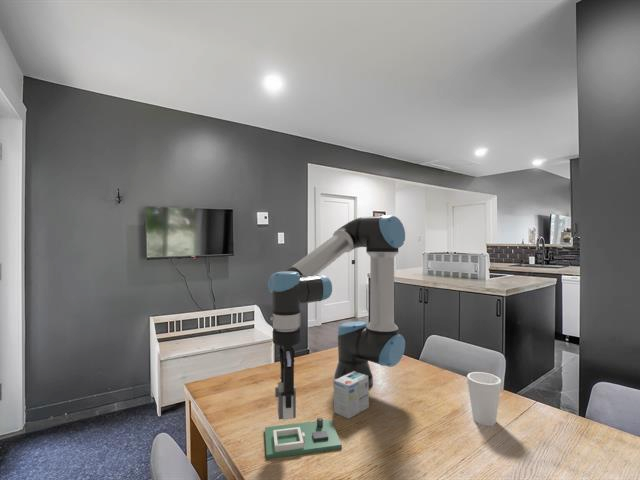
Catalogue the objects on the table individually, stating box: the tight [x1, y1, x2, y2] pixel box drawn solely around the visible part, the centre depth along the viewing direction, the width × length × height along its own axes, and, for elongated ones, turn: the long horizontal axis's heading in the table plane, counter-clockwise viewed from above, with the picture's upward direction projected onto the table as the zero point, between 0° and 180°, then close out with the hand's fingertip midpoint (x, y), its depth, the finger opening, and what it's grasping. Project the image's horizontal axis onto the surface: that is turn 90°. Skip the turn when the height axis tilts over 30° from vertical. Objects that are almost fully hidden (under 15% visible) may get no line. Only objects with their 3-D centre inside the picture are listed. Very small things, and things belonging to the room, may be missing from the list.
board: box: [264, 417, 342, 460], centre depth 95 cm, size 20×13×3 cm, turn 101°
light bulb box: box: [333, 371, 370, 420], centre depth 111 cm, size 11×7×11 cm, turn 134°
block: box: [274, 381, 297, 420], centre depth 92 cm, size 5×4×8 cm
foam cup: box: [466, 371, 502, 427], centre depth 104 cm, size 10×9×13 cm
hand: (287, 413), depth 92 cm, fingers closed on block, 4 cm apart
